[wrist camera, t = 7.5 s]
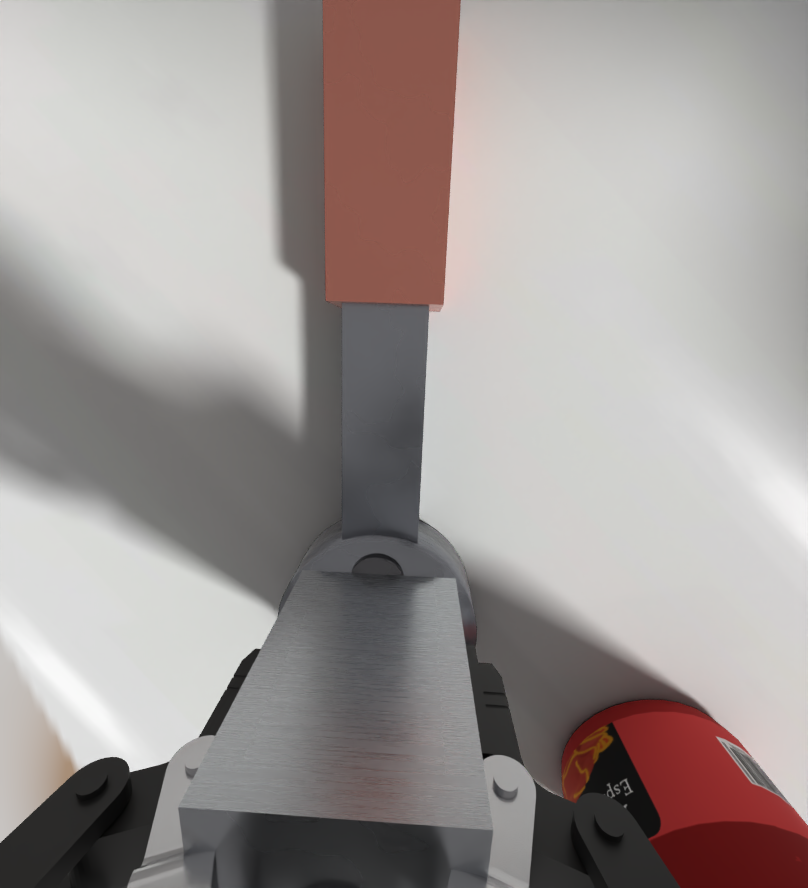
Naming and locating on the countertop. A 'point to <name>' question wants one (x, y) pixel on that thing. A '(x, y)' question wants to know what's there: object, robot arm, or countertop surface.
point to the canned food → (690, 795)
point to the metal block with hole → (349, 746)
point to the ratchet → (387, 273)
